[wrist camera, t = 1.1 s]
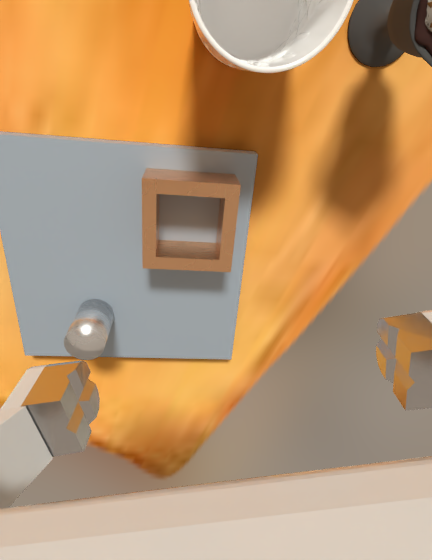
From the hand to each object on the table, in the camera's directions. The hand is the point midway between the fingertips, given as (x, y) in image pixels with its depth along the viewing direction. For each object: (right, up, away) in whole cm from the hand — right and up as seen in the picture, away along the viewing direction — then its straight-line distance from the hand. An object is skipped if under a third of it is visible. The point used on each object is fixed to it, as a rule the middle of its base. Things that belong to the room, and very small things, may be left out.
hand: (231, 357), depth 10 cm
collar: (-3, +8, +20) cm, 21 cm away
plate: (-8, +4, +23) cm, 24 cm away
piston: (-11, -1, +23) cm, 26 cm away
